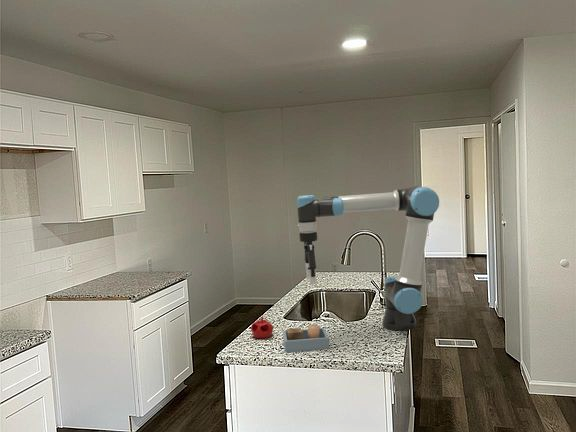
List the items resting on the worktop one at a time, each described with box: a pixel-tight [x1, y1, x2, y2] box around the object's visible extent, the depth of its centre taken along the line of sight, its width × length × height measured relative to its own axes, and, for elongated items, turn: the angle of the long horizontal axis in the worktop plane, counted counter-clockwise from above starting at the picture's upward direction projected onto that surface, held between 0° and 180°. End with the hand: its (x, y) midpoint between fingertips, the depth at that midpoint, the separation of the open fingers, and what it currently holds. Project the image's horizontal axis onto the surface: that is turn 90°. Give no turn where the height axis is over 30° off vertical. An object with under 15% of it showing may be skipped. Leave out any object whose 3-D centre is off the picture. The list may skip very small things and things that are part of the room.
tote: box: [282, 327, 330, 353], centre depth 218 cm, size 18×14×5 cm
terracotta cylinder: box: [307, 324, 320, 339], centre depth 218 cm, size 5×5×7 cm
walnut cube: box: [286, 327, 303, 340], centre depth 218 cm, size 6×6×6 cm
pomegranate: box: [250, 316, 274, 339], centre depth 233 cm, size 10×10×9 cm
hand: (311, 281), depth 220 cm, fingers open, 13 cm apart
